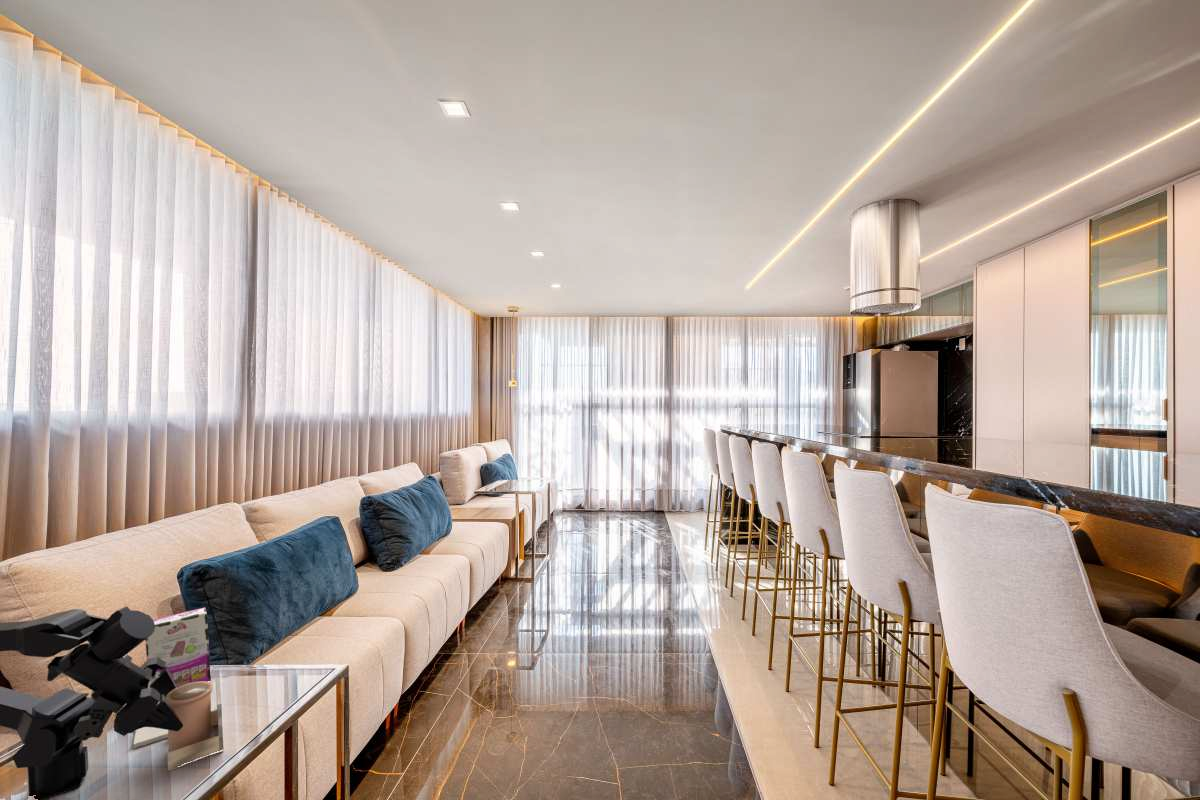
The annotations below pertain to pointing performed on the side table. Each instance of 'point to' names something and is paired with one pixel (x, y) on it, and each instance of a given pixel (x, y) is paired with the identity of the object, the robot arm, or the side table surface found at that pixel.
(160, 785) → the side table surface
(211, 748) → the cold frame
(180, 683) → the candy bar box
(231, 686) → the side table surface
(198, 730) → the terracotta pot
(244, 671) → the side table surface
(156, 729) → the ceramic tile
